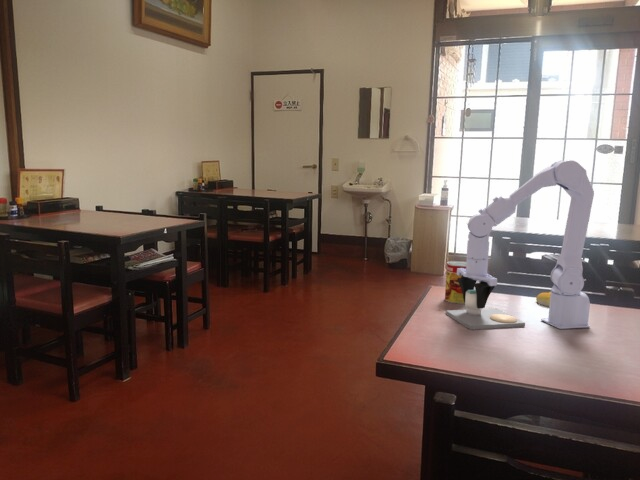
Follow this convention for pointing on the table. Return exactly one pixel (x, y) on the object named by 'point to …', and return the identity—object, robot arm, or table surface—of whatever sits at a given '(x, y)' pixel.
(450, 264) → the canned food
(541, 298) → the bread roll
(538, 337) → the table surface
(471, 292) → the cap
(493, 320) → the post board
